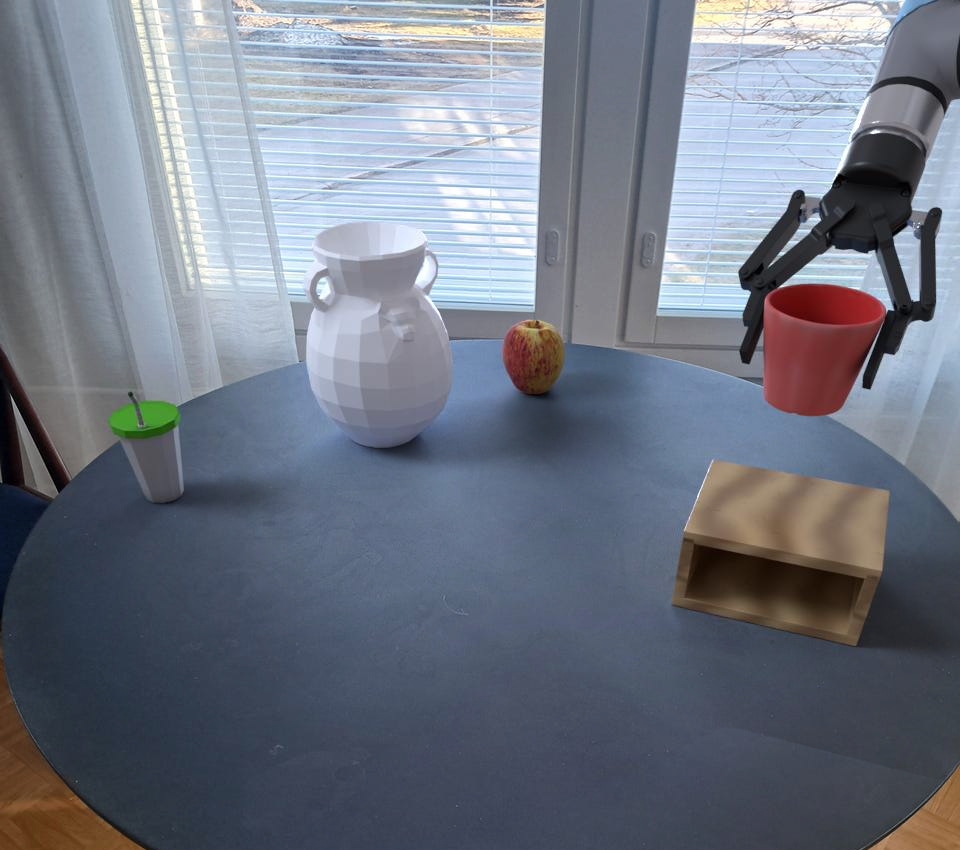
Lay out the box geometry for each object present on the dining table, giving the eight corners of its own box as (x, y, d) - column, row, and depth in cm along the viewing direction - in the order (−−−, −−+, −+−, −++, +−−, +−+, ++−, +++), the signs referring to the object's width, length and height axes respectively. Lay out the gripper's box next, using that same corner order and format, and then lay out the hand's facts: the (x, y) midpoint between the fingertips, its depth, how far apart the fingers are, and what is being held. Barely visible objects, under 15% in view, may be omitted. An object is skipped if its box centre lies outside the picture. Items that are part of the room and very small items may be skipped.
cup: (156, 473, 113) (125, 357, 103) (210, 483, 111) (183, 367, 101) (117, 504, 107) (81, 385, 98) (173, 515, 105) (141, 395, 96)
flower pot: (790, 433, 85) (814, 331, 78) (726, 386, 92) (743, 290, 86) (882, 414, 87) (913, 314, 81) (812, 370, 95) (835, 276, 89)
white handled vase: (350, 480, 111) (327, 272, 95) (295, 421, 124) (266, 229, 108) (480, 443, 119) (479, 244, 103) (415, 391, 131) (406, 206, 115)
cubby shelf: (866, 563, 97) (890, 490, 92) (856, 646, 87) (882, 570, 81) (700, 529, 103) (712, 459, 97) (671, 605, 92) (683, 531, 86)
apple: (495, 379, 134) (495, 312, 127) (553, 373, 136) (556, 306, 129) (511, 405, 127) (512, 335, 121) (572, 398, 129) (576, 329, 122)
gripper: (1013, 194, 84) (930, 412, 84) (768, 165, 94) (692, 362, 94) (1028, 141, 77) (937, 379, 77) (762, 116, 87) (680, 328, 87)
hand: (803, 370), depth 85 cm, fingers closed on flower pot, 11 cm apart
